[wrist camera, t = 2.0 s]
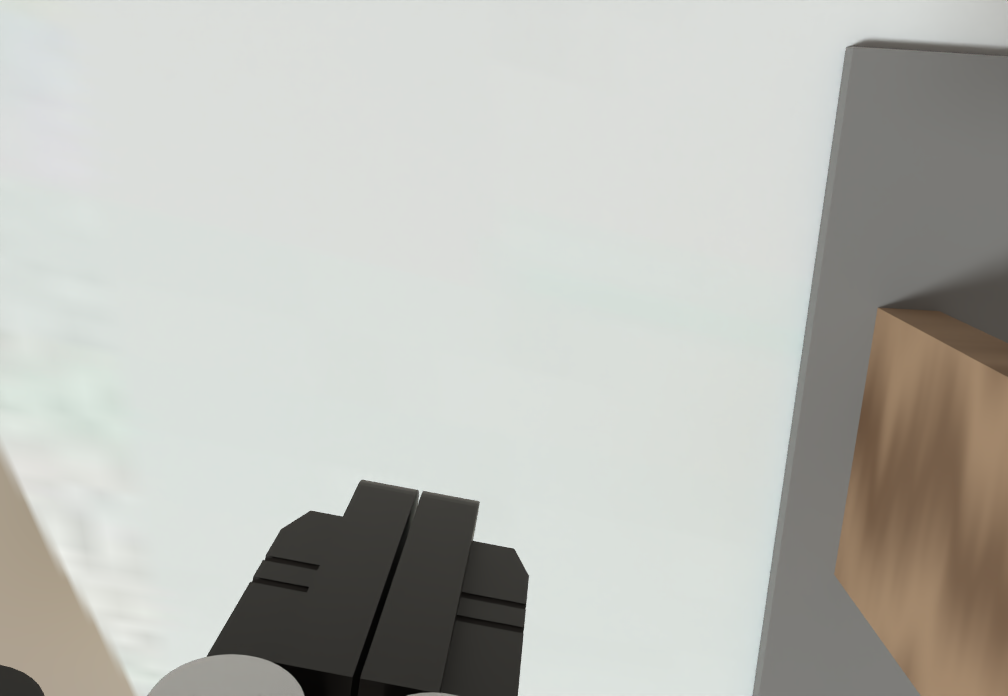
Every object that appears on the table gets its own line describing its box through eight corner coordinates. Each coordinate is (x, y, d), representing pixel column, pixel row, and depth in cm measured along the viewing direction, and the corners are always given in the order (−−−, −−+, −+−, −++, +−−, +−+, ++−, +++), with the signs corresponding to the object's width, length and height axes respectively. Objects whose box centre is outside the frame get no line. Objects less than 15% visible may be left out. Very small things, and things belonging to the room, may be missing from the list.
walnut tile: (877, 307, 29) (1175, 467, 16) (948, 311, 29) (1302, 474, 16) (833, 574, 31) (1066, 898, 18) (900, 578, 31) (1176, 903, 18)
